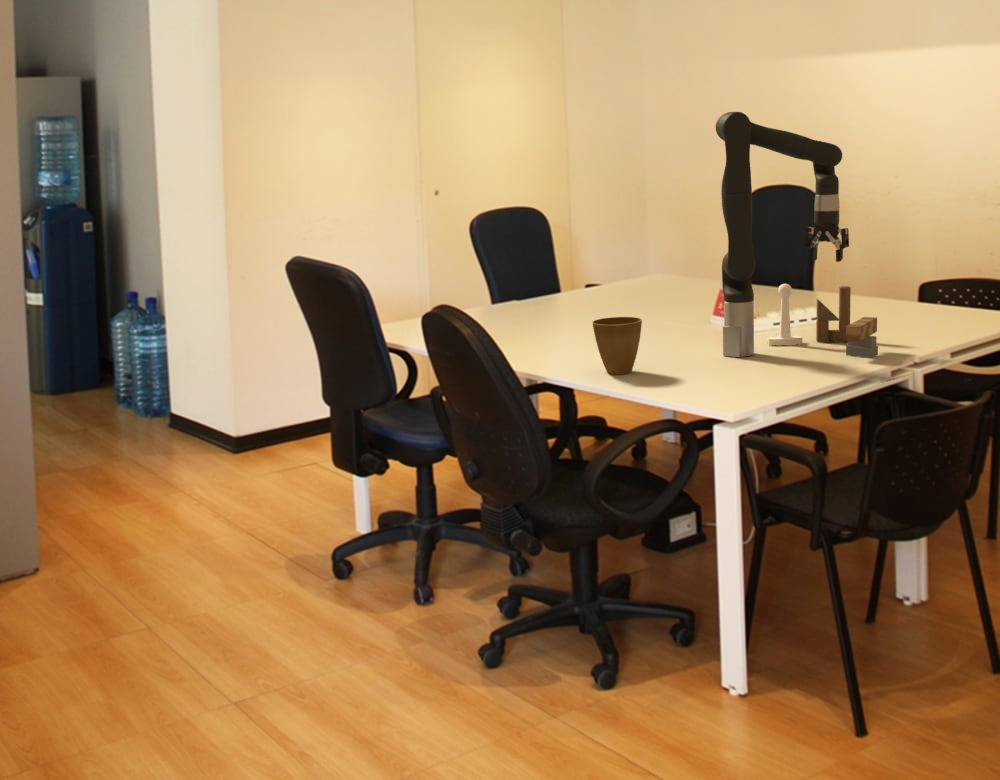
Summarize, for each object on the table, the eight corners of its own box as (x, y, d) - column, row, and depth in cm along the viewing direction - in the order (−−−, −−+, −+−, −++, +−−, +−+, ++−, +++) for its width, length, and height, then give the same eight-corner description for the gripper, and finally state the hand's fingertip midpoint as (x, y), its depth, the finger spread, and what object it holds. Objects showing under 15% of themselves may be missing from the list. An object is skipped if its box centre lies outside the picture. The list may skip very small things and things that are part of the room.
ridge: (869, 357, 381) (870, 338, 380) (846, 355, 386) (846, 336, 385) (877, 355, 384) (878, 336, 383) (854, 352, 390) (854, 333, 388)
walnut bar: (859, 341, 376) (859, 326, 375) (845, 340, 378) (846, 326, 377) (877, 331, 390) (877, 317, 389) (864, 330, 392) (864, 316, 391)
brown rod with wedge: (816, 340, 412) (816, 286, 408) (849, 340, 411) (850, 285, 407) (817, 342, 409) (817, 288, 405) (851, 342, 407) (851, 287, 403)
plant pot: (639, 366, 386) (637, 315, 382) (646, 375, 371) (645, 322, 368) (591, 368, 385) (589, 317, 382) (596, 378, 371) (595, 325, 367)
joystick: (770, 346, 407) (769, 285, 402) (764, 342, 414) (763, 282, 410) (803, 344, 407) (803, 283, 403) (797, 340, 414) (797, 280, 410)
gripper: (800, 209, 391) (800, 261, 395) (841, 210, 382) (840, 263, 385) (812, 207, 397) (812, 258, 400) (853, 208, 387) (853, 260, 390)
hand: (826, 260), depth 393 cm, fingers open, 8 cm apart
